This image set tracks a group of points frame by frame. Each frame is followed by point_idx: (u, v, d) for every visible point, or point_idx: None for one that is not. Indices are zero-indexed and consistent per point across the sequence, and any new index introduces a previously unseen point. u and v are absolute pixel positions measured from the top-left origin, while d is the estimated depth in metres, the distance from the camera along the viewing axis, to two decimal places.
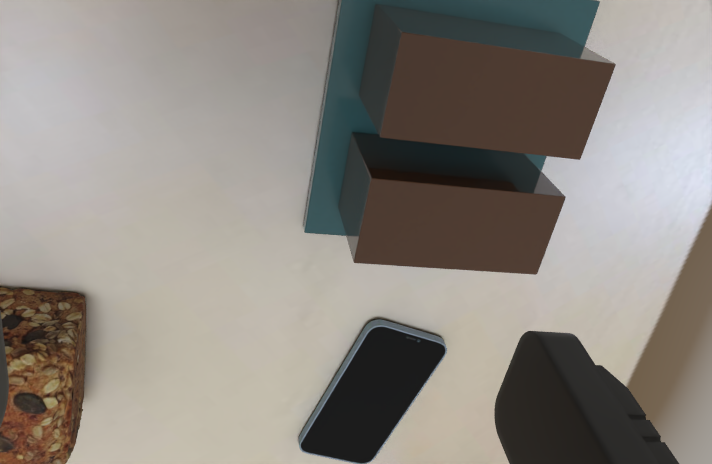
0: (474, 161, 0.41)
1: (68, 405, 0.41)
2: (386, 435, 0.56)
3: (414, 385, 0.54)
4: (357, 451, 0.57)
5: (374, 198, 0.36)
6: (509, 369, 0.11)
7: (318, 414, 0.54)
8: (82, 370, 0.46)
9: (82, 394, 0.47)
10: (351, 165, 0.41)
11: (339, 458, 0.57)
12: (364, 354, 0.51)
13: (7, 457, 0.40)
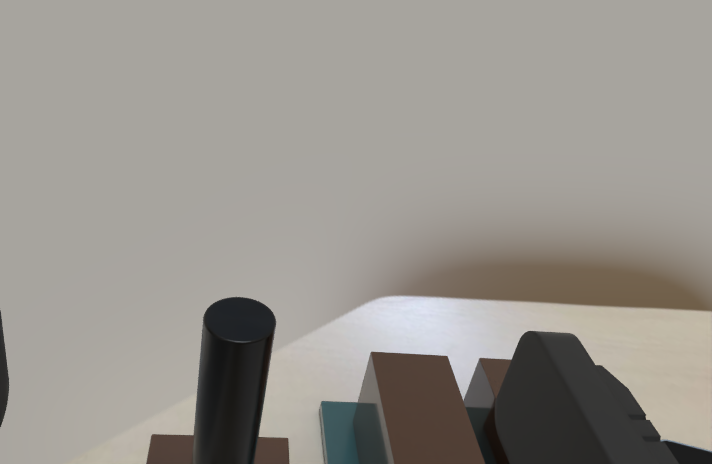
0: (481, 446, 0.44)
1: None
2: None
3: None
4: None
5: None
6: (509, 369, 0.11)
7: None
8: None
9: None
10: None
11: None
12: None
13: None
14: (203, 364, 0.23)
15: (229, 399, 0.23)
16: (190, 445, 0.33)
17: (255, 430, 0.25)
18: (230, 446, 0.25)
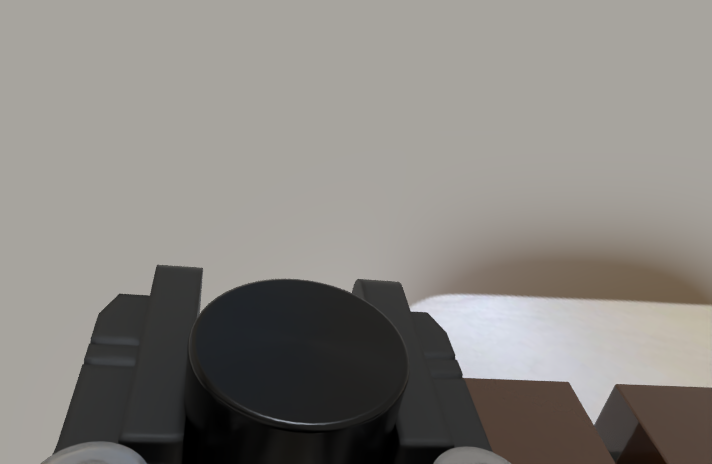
0: None
1: None
2: None
3: None
4: None
5: None
6: None
7: None
8: None
9: None
10: None
11: None
12: None
13: None
14: None
15: None
16: None
17: None
18: None
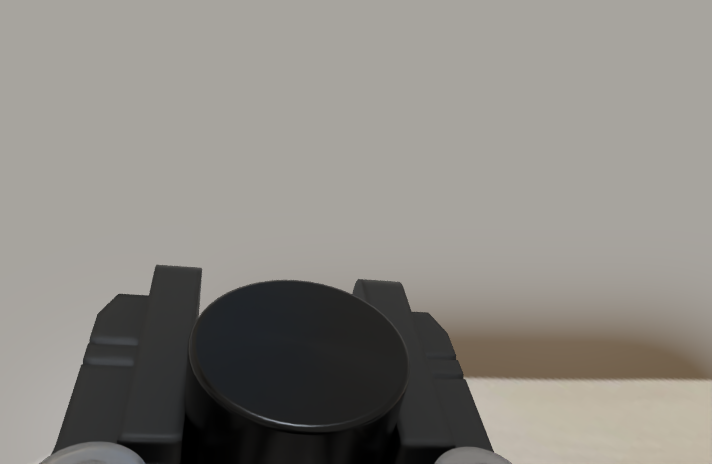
0: None
1: None
2: None
3: None
4: None
5: None
6: None
7: None
8: None
9: None
10: None
11: None
12: None
13: None
14: None
15: None
16: None
17: None
18: None
